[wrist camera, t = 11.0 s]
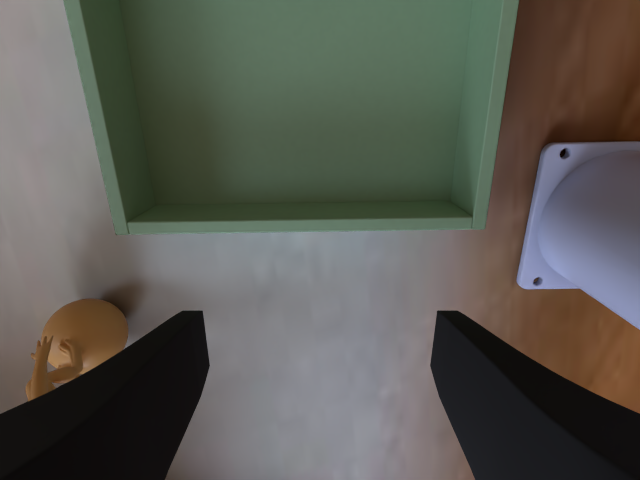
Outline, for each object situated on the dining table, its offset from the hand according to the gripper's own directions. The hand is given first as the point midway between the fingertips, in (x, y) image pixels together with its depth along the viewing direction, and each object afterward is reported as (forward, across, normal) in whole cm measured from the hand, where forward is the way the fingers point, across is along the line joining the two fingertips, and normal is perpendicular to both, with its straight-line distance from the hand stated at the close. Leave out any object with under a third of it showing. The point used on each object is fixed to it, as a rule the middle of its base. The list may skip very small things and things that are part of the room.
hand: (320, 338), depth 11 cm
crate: (+9, +1, -8) cm, 12 cm away
